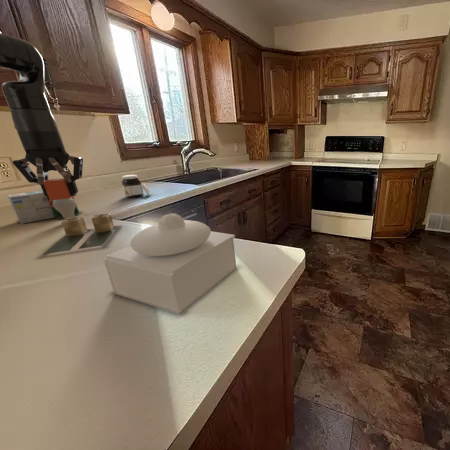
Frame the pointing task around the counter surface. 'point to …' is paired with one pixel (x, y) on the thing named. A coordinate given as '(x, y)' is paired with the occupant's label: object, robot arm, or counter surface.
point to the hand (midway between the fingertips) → (62, 196)
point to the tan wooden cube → (74, 226)
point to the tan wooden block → (103, 223)
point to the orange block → (57, 189)
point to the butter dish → (171, 263)
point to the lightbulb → (65, 207)
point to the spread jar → (133, 186)
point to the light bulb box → (31, 206)
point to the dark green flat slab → (71, 241)
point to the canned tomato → (57, 213)
